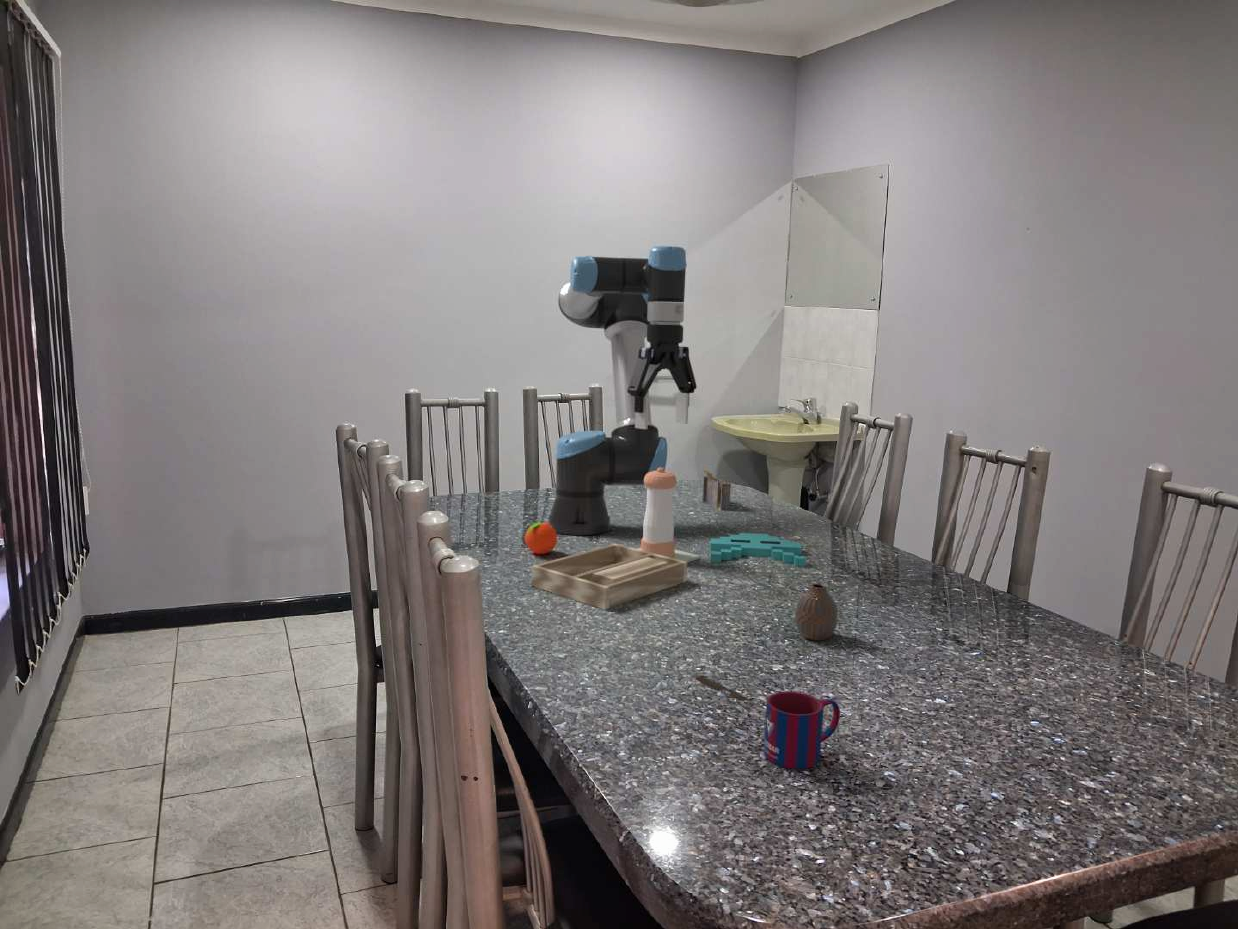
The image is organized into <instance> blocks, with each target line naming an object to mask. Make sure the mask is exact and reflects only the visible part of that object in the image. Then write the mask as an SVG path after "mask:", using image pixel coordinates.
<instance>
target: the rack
mask: <svg viewBox="0 0 1238 929" xmlns="http://www.w3.org/2000/svg"><path fill="white" fill-rule="evenodd" d="M638 549H639V548H634V547H630V546H626V545H621V544H617V543H612V544H609V545H605V546H600V547H596V548H594V549H590V550H586V551H584V552H583V551H582V552H579V553H576V554H572V555H571V554H570V555H568V556H563V557H560V558H556V559H553V560H549V561H546V562H541V563H539V564H535V565H531V567H530V568H531V570H530V571H531V573H530V575H531V577H530V578H531V582H530V583H531V585H532V586H534V587H533V588H535V587H537V588H536V589H538V588H539V589H538V590H541V589H544V590H547V591H549V592H548V593H551V592H552V593H551V594H554V593H555V594H554V595H557V596H560V595H562V596H561V597H563V596H565V597H564V598H566V597H567V599H570V600H573V601H576V602H579V601H580V602H579V603H582V602H583V604H585V603H586V604H585V605H589V606H591V607H595V608H598V607H599V608H598V609H601V610H604V611H605V610H608V609H612V608H614V607H617V606H620V605H624V604H627V603H628V602H631V601H634V600H637V599H640V598H643V597H646V596H649V595H651V594H655V593H658V592H660V591H663V590H666V589H668V588H671V587H675V586H677V585H679V584H680V585H681V584H683V583H686V582H687V573H688V570H687V569H688V562H686V561H682V560H678V559H674V558H670V557H666V556H662V555H658V554H654V553H650V552H646V551H642V550H638ZM647 557H649V558H653V559H657V560H661V561H665V562H668V566H665V567H662V568H659V569H656V570H653V571H650V572H646V573H643V574H640V575H637V576H634V577H631V578H628V579H625V580H621V581H618V582H615V583H612V584H609V585H606V586H604V585H601V584H598V583H594V582H593V573H596V572H600V571H603V570H606V569H610V568H613V567H616V566H620V565H623V564H627V563H630V562H633V561H637V560H640V559H643V558H647ZM612 564H613V565H612ZM605 566H606V567H605ZM590 570H592V571H590ZM587 571H589V572H587ZM584 572H585V573H584ZM581 573H582V574H581ZM578 574H579V575H578ZM532 586H531V587H532ZM662 589H663V590H662ZM544 590H543V591H544ZM547 591H546V592H547Z"/></svg>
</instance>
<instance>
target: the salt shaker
mask: <svg viewBox="0 0 1238 929" xmlns="http://www.w3.org/2000/svg"><path fill="white" fill-rule="evenodd" d="M677 482H678V481H677V477H676V476H675V474H674V473H672V472H670V471H667V470H665V471H664V468H657V471H652V472H649V473H647V474H646V475H645V477H644V484H645V485H644V486H645V487H646V488H647V489H646V490H647V491H646V507H645V513H644V518H643V523H642V525H643V529H642V530H643V531H642V533H643V534H642V535H643V536H642V538H641V542H640V543H641V544H640V548H641V550H642V551H646V552H650V553H654V554H658V555H662V556H666V557H670V558H673V557H674V556H675V550H676V549H675V548H676V547H675V546H676V540H675V538H674V534H675V533H674V532H675V531H674V530H675V521H674V520H675V519H674V513H673V510H674V509H673V490H674V489H673V488H675V487H676V485H677Z"/></svg>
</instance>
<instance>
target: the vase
mask: <svg viewBox="0 0 1238 929" xmlns="http://www.w3.org/2000/svg"><path fill="white" fill-rule="evenodd" d="M794 618H795V621H794V622H795V625H796V628H797V630H798V632H799V633H800V634H801V636H802V637H803V638H804V639H805V638H806V639H807V640H811V641H824V640H825V641H826V640H827V639H828V638H830V637H831V636H832V635H833V634H834V632H835V630H836V628H837V626H838V621H839V612H838V608H837V603H836V602H835V600H834V599H833V597H832V596H831V595H830V593H829V591H828V588H827V586H826V585H824V584H822V583H812V584H811V585H810V586H809V588H808V590H807V591H806V592H805V593H804V594H803V595H802V596H801V597H800V599H799V600H798V602H797V604H796V608H795V612H794Z"/></svg>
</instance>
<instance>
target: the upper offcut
mask: <svg viewBox="0 0 1238 929" xmlns="http://www.w3.org/2000/svg"><path fill="white" fill-rule="evenodd" d="M665 566H668V562H665V561H661V560H657V559H653V558H649V557H647V558H643V559H640V560H637V561H633V562H630V563H627V564H623V565H620V566H616V567H613V568H610V569H606V570H603V571H600V572H596V573H593V582H594V583H598V584H601V585H604V586H606V585H609V584H612V583H615V582H618V581H621V580H625V579H628V578H631V577H634V576H637V575H640V574H643V573H646V572H650V571H653V570H656V569H659V568H662V567H665Z"/></svg>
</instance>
